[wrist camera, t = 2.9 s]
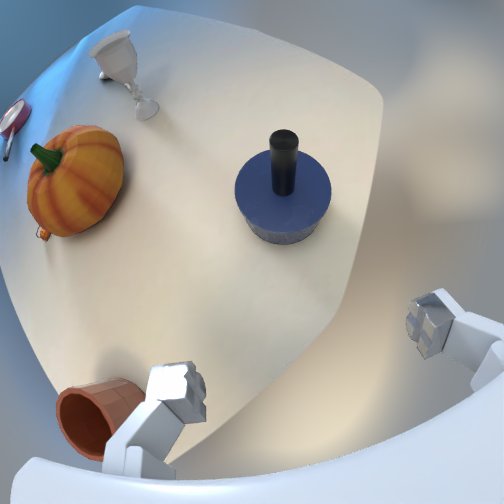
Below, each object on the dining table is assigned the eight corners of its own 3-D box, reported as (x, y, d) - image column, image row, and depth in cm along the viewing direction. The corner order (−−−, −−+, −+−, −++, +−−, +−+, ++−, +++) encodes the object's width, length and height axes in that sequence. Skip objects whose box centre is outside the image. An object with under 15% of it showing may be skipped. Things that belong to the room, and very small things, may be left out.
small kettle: (41, 231, 41) (32, 227, 39) (51, 223, 41) (42, 218, 39) (43, 244, 40) (34, 240, 38) (53, 236, 40) (44, 231, 38)
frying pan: (42, 143, 48) (27, 129, 42) (10, 181, 47) (-6, 170, 41) (30, 101, 56) (20, 90, 50) (4, 129, 55) (-7, 120, 49)
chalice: (135, 130, 44) (90, 62, 27) (126, 112, 46) (86, 49, 29) (169, 109, 45) (134, 35, 28) (157, 93, 47) (125, 26, 29)
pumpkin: (140, 218, 39) (84, 168, 25) (53, 258, 39) (-9, 232, 25) (130, 130, 45) (93, 76, 30) (54, 172, 45) (10, 135, 30)
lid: (344, 179, 33) (364, 127, 23) (301, 254, 31) (311, 221, 21) (267, 140, 35) (262, 85, 25) (217, 207, 33) (195, 160, 23)
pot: (164, 407, 32) (129, 429, 22) (136, 449, 30) (101, 474, 21) (113, 364, 34) (69, 371, 24) (90, 407, 32) (48, 420, 23)
